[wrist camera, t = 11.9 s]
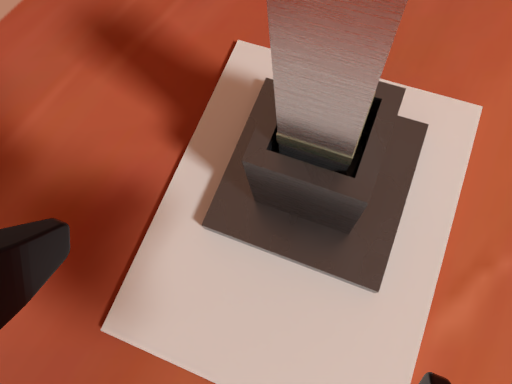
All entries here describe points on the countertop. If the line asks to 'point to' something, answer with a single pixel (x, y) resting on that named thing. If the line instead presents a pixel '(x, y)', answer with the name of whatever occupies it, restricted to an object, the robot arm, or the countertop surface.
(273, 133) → the iron stand
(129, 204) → the countertop surface
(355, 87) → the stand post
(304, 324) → the rubber mat
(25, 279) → the robot arm
